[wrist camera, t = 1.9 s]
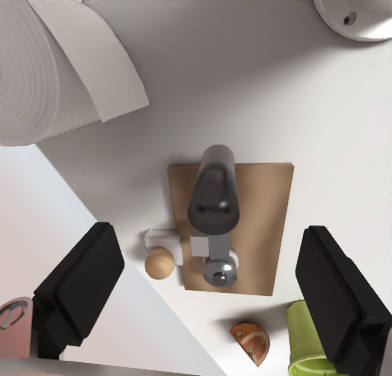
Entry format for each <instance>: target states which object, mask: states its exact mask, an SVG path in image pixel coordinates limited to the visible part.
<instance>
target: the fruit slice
mask: <svg viewBox="0 0 392 376" xmlns="http://www.w3.org/2000/svg"><path fill="white" fill-rule="evenodd" d="M230 333H231V334H232V336H233V337H234V338H235V340H236V341H237V342H238V343H239V345H240V346H241V347H242V349H243V350H244V351H245V352H246V354H247V355H248V356H249V357H250V358H251V360H252V361H253V362H254V363H255V364H256V365H257V367H259V366H260V365H261V363H262V362H263V360H264V359H265V357H266V356H267V353H268V351H269V347H270V339H269V336H268V334H267V333H266V332H265V331H264V330H263V329H262V328H260V327H259V326H257V325H254V324H250V323H242V324H239V325H237V326H235V327H233V328H232V329H231V330H230Z"/></svg>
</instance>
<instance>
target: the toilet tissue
mask: <svg viewBox="0 0 392 376" xmlns="http://www.w3.org/2000/svg"><path fill="white" fill-rule="evenodd" d="M148 105H150V104H149V100H148V97H147V94H146V92H145V88H144V85H143V83H142V81H141V79H140V77H139V75H138V73H137V71H136V69H135V67H134V65H133V63H132V61H131V59H130V57H129V56H128V54H127V52H126V51H125V49H124V47H123V46H122V44H121V43H120V41H119V40H118V39H117V37H116V36H115V34H114V32H113V31H112V29H111V28H110V27H109V25H108V24H107V23H106V21H105V20H104V19H103V18H102V17H101V16H99V15H98V14H97V13H96V12H95V11H94V10H92V9H91V8H89V7H88V6H86V5H85V4H83V3H81V2H79V1H77V0H0V146H26V145H30V144H33V143H35V142H38V141H41V140H45V139H47V138H51V137H53V136H55V135H59V134H61V133H65V132H67V131H70V130H74V129H76V128H79V127H83V126H85V125H88V124H90V123H94V122H96V121H100V120H101V121H102V122H107V121H108V120H110V119H112V118H115V117H118V116H121V115H123V114H128V113H131V111H135V110H138V109H140V108H142V107H146V106H148Z"/></svg>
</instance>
